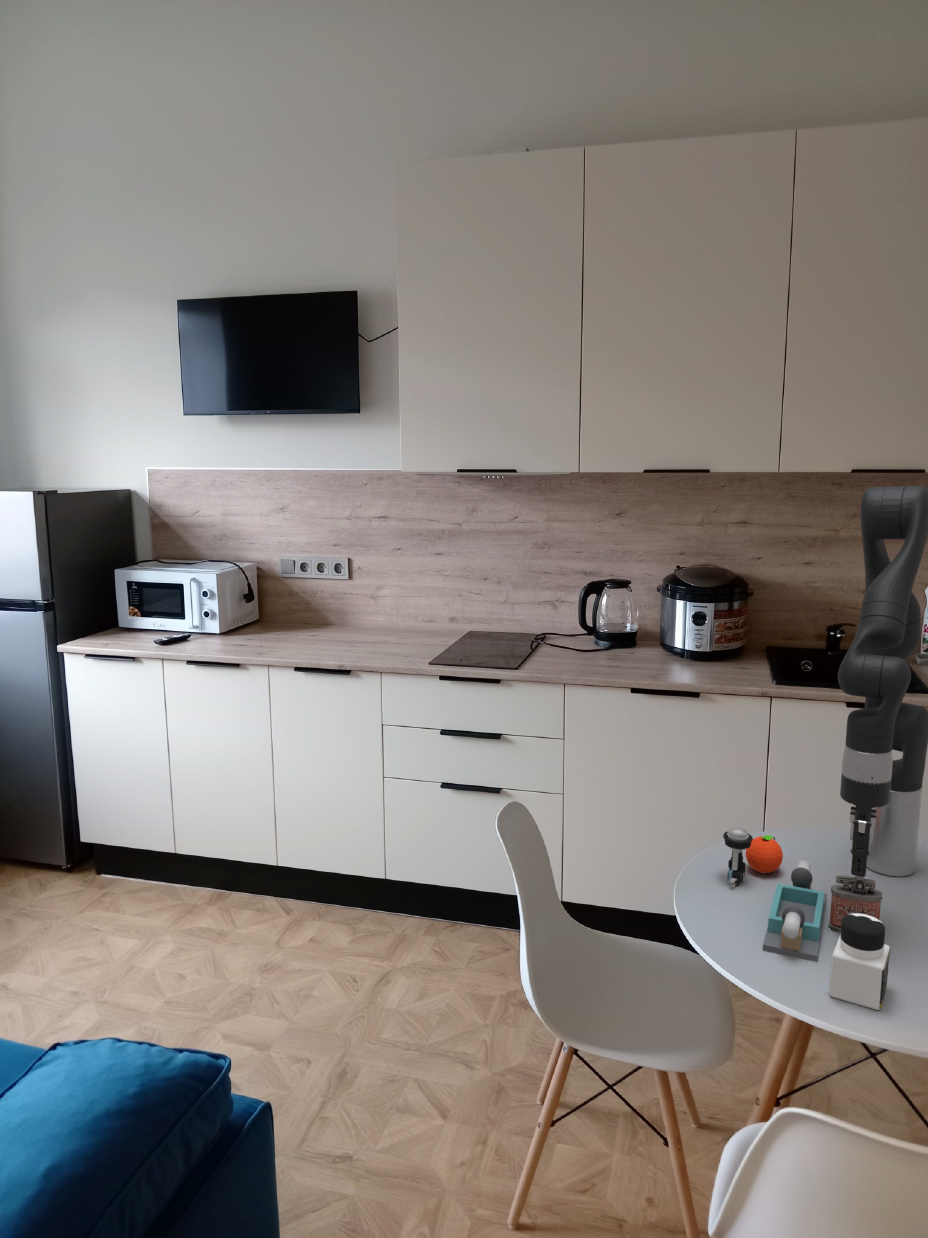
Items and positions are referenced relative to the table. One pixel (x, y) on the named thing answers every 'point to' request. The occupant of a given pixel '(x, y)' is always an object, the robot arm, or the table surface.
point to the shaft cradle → (796, 917)
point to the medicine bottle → (860, 962)
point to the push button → (737, 853)
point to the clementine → (764, 854)
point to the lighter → (853, 899)
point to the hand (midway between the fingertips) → (859, 864)
